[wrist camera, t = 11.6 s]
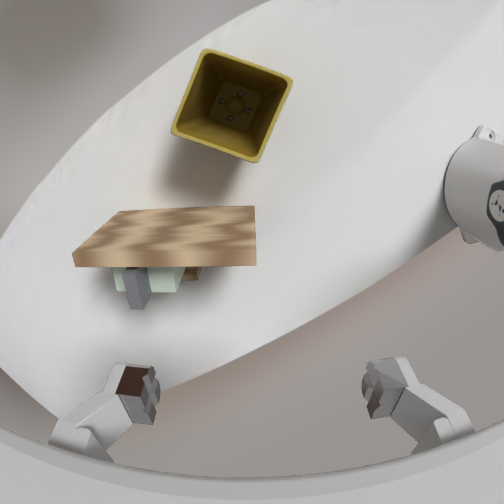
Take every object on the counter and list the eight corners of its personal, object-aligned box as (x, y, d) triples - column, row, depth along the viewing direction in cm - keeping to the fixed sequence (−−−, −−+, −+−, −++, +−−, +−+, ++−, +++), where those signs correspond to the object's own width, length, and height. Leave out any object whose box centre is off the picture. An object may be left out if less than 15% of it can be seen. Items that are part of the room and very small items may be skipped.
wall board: (254, 205, 38) (256, 249, 26) (255, 259, 41) (257, 320, 29) (119, 211, 38) (71, 253, 26) (128, 261, 41) (90, 315, 29)
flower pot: (256, 153, 35) (257, 165, 27) (187, 129, 34) (168, 133, 26) (284, 87, 32) (295, 79, 24) (214, 62, 30) (203, 46, 22)
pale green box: (182, 235, 35) (163, 274, 27) (186, 266, 37) (170, 310, 29) (128, 237, 35) (97, 273, 27) (134, 266, 37) (106, 308, 29)
